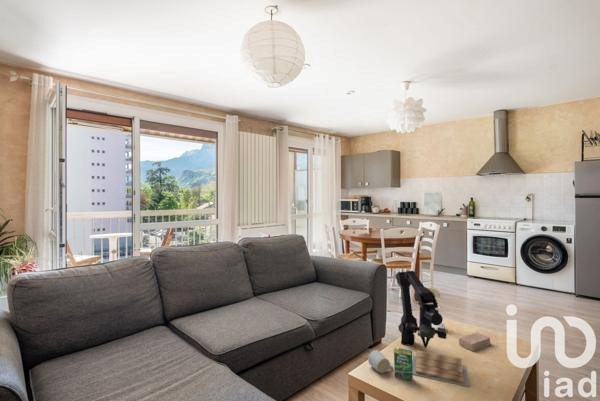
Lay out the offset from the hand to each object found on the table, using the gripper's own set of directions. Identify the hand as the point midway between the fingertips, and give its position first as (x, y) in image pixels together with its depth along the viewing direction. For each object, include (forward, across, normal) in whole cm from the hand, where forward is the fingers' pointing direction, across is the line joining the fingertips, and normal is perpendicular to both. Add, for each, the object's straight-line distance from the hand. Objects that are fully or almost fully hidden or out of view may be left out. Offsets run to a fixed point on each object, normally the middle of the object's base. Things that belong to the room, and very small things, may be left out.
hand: (425, 347), depth 155 cm
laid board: (+8, +6, -9) cm, 13 cm away
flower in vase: (+8, +4, +42) cm, 43 cm away
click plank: (+5, +6, -2) cm, 8 cm away
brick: (+8, +24, +29) cm, 39 cm away
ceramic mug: (+8, -19, -14) cm, 25 cm away
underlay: (+8, +6, -5) cm, 11 cm away
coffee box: (+8, -9, -18) cm, 21 cm away
